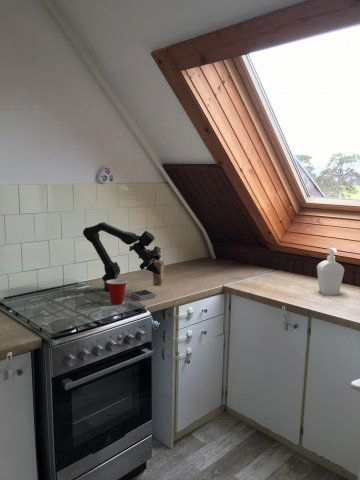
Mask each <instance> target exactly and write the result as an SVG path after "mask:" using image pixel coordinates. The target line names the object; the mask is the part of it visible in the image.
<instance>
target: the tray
mask: <svg viewBox="0 0 360 480" xmlns="http://www.w3.org/2000/svg"><path fill="white" fill-rule="evenodd" d="M155 296H156V295H155V292H152V291H150V290H148V289H141V290H136V291H132V292H131V293H130V297H131V298H133V299H135V300H137V301H138V302H142V301H147V300H151V299H155Z"/></svg>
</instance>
